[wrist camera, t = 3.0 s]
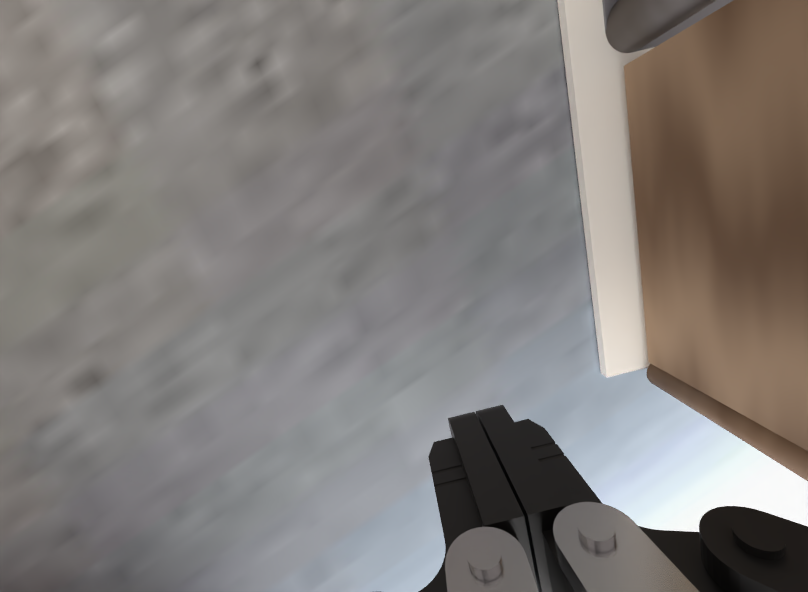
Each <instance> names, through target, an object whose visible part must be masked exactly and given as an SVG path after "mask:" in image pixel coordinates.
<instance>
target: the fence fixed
mask: <svg viewBox="0 0 808 592" xmlns="http://www.w3.org/2000/svg"><path fill="white" fill-rule="evenodd" d="M715 1H717V0H618V1H617V2H616V3H615V4H614V6H613V7H612V9H611V11H610V13H609V16H608V19H607V29H606V30H605V34H606V38H607V40H608V42H609V44H610V45H611V46H612V47H613V48H614V49H615V50H617V51H619V52H622V53H631V52H633V51H636V50H638V49H640V48H642V47H643V46H645V45H647V44H648V43H650V42H651V41H653V40H655V39H656V38H658V37H659V36H661V35H663V34H664V33H666V32H667V31H669V30H671V29H672V28H674V27H675V26H677V25H679V24H680V23H682V22H683V21H685V20H686V19H688V18H690V17H691V16H693V15H694V14H696V13H698V12H699V11H701V10H702V9H704V8H706V7H707V6H709V5H710V4H712V3H714V2H715Z"/></svg>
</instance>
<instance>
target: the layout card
mask: <svg viewBox="0 0 808 592" xmlns="http://www.w3.org/2000/svg"><path fill="white" fill-rule="evenodd" d="M617 1H618V0H557V2H558V11H559V19H560V28H561V36H562V45H563V53H564V62H565V70H566V79H567V88H568V96H569V105H570V113H571V122H572V130H573V139H574V147H575V156H576V165H577V173H578V182H579V190H580V199H581V207H582V216H583V224H584V233H585V241H586V250H587V259H588V267H589V276H590V284H591V293H592V301H593V310H594V318H595V327H596V335H597V344H598V353H599V361H600V370H601V374H603V375H604V376H605V377H611V376H615V375H619V374H623V373H627V372H631V371H635V370H639V369H643V368H647V367H649V365H650V363H649V362H648V352H647V340H646V328H645V316H644V304H643V292H642V280H641V268H640V256H639V244H638V232H637V220H636V209H635V197H634V185H633V173H632V161H631V149H630V137H629V125H628V113H627V101H626V89H625V77H624V65H626V64H628V63H629V62H631V61H633V60H634V59H636V58H638V57H639V56H641V55H643V54H645V53H646V52H648V51H650V50H651V49H653V48H655V47H656V46H658V45H660V44H661V43H663V42H665V41H666V40H668V39H670V38H671V37H673V36H675V35H676V34H678V33H680V32H681V31H683V30H685V29H686V28H688V27H690V26H691V25H693V24H695V23H696V22H698V21H700V20H702V19H703V18H705V17H707V16H708V15H710V14H712V13H713V12H715V11H717V10H718V9H720V8H722V7H723V6H725V5H727V4H728V3H730V2H732V1H733V0H717V1H715V2H714V3H712V4H710V5H709V6H707V7H706V8H704V9H702V10H701V11H699V12H698V13H696V14H694V15H693V16H691V17H690V18H688V19H686V20H685V21H683V22H682V23H680V24H679V25H677V26H675V27H674V28H672V29H671V30H669V31H667V32H666V33H664V34H663V35H661V36H659V37H658V38H656V39H655V40H653V41H651V42H650V43H648V44H647V45H645V46H643V47H642V48H640V49H638V50H636V51H633V52H631V53H622V52H619V51H617V50H615V49H614V48H613V47H612V46H611V45H610V44H609V42H608V40H607V38H606V34H605V30H606V29H607V19H608V16H609V13H610V11H611V9H612V7H613V6H614V4H615V3H616V2H617Z"/></svg>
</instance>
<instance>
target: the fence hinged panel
mask: <svg viewBox="0 0 808 592" xmlns="http://www.w3.org/2000/svg"><path fill="white" fill-rule="evenodd" d="M624 77H625V89H626V101H627V113H628V125H629V137H630V149H631V161H632V173H633V185H634V197H635V209H636V220H637V232H638V244H639V256H640V268H641V280H642V292H643V304H644V316H645V328H646V340H647V352H648V362H649V363H650V365H649V367H648V369H647V378H648V380H649V381H650V382H651V383H652V384H654V385H656V386H657V387H659V388H660V389H662V390H664V391H665V392H667V393H668V394H670V395H671V396H673V397H675V398H676V399H678V400H679V401H681V402H683V403H684V404H686V405H687V406H689V407H691V408H692V409H694V410H695V411H697V412H699V413H700V414H702V415H703V416H705V417H707V418H708V419H710V420H711V421H713V422H714V423H716V424H718V425H719V426H721V427H722V428H724V429H726V430H727V431H729V432H730V433H732V434H734V435H735V436H737V437H738V438H740V439H742V440H743V441H745V442H746V443H748V444H750V445H751V446H753V447H754V448H756V449H757V450H759V451H761V452H762V453H764V454H765V455H767V456H769V457H770V458H772V459H773V460H775V461H777V462H778V463H780V464H781V465H783V466H785V467H786V468H788V469H789V470H791V471H793V472H794V473H796V474H797V475H799V476H800V477H802V478H804V479H805V480H807V481H808V0H733V1H732V2H730V3H728V4H727V5H725V6H723V7H722V8H720V9H718V10H717V11H715V12H713V13H712V14H710V15H708V16H707V17H705V18H703V19H702V20H700V21H698V22H696V23H695V24H693V25H691V26H690V27H688V28H686V29H685V30H683V31H681V32H680V33H678V34H676V35H675V36H673V37H671V38H670V39H668V40H666V41H665V42H663V43H661V44H660V45H658V46H656V47H655V48H653V49H651V50H650V51H648V52H646V53H645V54H643V55H641V56H639V57H638V58H636V59H634V60H633V61H631V62H629V63H628V64H626V65H624Z"/></svg>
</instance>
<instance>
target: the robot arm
mask: <svg viewBox="0 0 808 592" xmlns="http://www.w3.org/2000/svg"><path fill="white" fill-rule="evenodd" d="M448 421H449V426H450V430H451V435H452V438H449V439H445V440H441V441H437V442H434V443H433V446H432V449H431V452H430V454H429V461H430V466H431V472H432V477H433V482H434V486H435V492H436V497H437V502H438V507H439V512H440V517H441V522H442V527H443V533H444V538H445V544H446V553H445V558H444V562H443V564H442V567H441V569H440V570H439V572H438V574H437V575H436V576H435V578H434V579H433V580H432V581H431V582H430V583H429V584H428V585H427V586H426V587H425V588H423V589H422V590H421V591H419V592H808V527H807V526H804V525H801V524H798V523H795V522H792V521H789V520H786V519H783V518H780V517H777V516H774V515H771V514H768V513H765V512H762V511H759V510H755V509H751V508H746V507H738V506H725V507H718V508H715V509H712V510H710V511H708V512H706V513H705V514H704V515H703V517H702V518H701V520H700V525H699V531H700V532H684V531H664V530H653V529H648V528H643V527H640V526H637V525H636V524H635V522H634V521H632V520H631V519H630V518H629V517H628V516H627V515H625V514H624V513H623V512H621V511H619V510H617V509H615V508H613V507H611V506H608V505H605V504H602V503H601V501H600V500H599V499H598V497H597V496H596V495H595V493H594V492H593V491H592V490H591V488H590V487H589V486H588V484H587V483H586V482H585V480H584V479H583V478H582V477H581V475H580V474H579V473H578V471H577V470H576V469H575V467H574V466H573V465H572V464H571V462H570V461H569V460H568V458H567V457H566V456H564V453H563V452H562V451H561V449H560V448H559V447H558V445H557V444H555V441H554V440H553V439H552V437H551V436H550V435H549V434H548V432H547V431H546V430H545V428H543V427H541V426H540V425H538V424H536V423H534V422H532V421H531V420H529V419H526V420H522V421H518V422H514V421H513V420H512V418H511V417H510V415H509V413H508V412H507V410H506V409H505V407H504V406H503V405H500V406H496V407H492V408H488V409H483V410H479V411H476V414H475V412H472V413H468V414H463V415H459V416H455V417H451V418H448Z"/></svg>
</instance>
